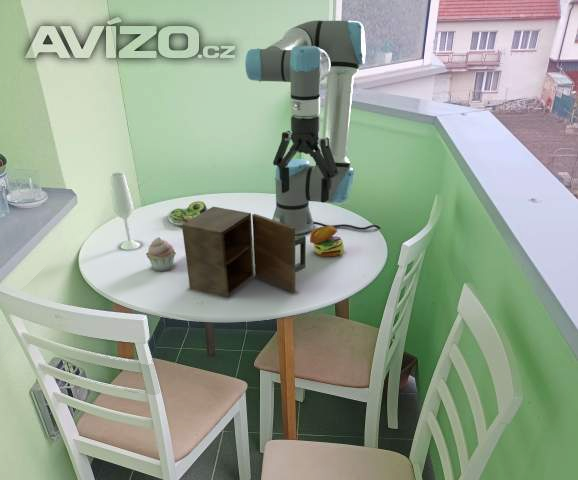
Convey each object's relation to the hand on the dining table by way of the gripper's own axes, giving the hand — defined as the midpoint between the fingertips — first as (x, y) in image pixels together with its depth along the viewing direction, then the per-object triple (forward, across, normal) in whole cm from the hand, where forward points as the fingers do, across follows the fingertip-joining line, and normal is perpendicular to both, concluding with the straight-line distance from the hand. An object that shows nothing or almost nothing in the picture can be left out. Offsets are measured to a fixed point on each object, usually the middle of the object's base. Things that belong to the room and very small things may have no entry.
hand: (304, 196), depth 161 cm
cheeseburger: (+25, -4, +19) cm, 32 cm away
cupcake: (+25, -40, -21) cm, 52 cm away
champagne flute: (+25, -62, -16) cm, 69 cm away
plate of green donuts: (+26, -62, +15) cm, 69 cm away
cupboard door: (+25, -3, -7) cm, 26 cm away
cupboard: (+25, -18, -18) cm, 35 cm away
